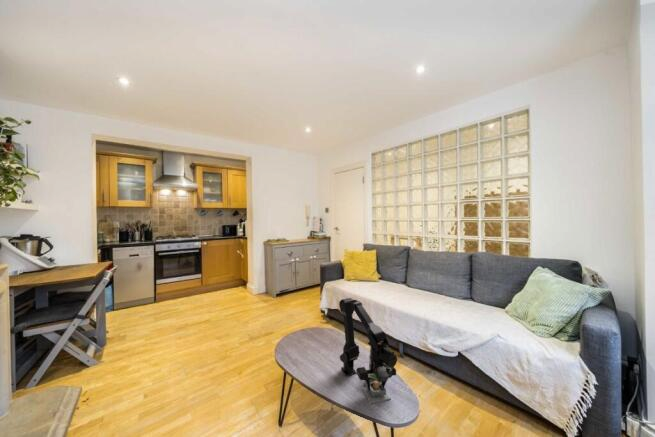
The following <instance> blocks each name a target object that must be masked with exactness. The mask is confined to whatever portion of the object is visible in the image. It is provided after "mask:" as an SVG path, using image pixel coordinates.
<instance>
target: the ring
mask: <svg viewBox="0 0 655 437" xmlns="http://www.w3.org/2000/svg"><path fill="white" fill-rule="evenodd" d="M377 381H378V380H377ZM378 382H379V381H378ZM365 385H366V384H365ZM365 387H366V388H367V385H366V386H365ZM367 389H368V388H367ZM368 391H369V390H368ZM369 393H370V394H371V396H372V397H377V396H383V395H386V393H387V389H386V388H385V386H383V385H382V382H379V389H377V390H373V381H370V391H369Z"/></svg>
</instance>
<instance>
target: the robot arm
mask: <svg viewBox="0 0 655 437" xmlns="http://www.w3.org/2000/svg"><path fill="white" fill-rule="evenodd" d="M338 307H339V311H340V312H341V314H342V316H343V325H344V339H345V343H344V345H343V348H342V350H343V351H342V354H340V355H339V360H340V361H341V362H342V363H343V364H342V365H343V366H342V367H341V370H342V373H343V374H344V376H349V375H357V377H358V379H359V380H360V381H364V382H365V385H367V388H368V390H369V391H370V382H371V377H369V375H372V374H375V375H376V377H377V380H376V381H379V382H381V383H382V385H383V386H384V387H385V386H386V383H387V381H388V380H389V379H391V378H393V377H394V376H396V375H397V369H396V368H395V366H396V365H397V363H398V357H397V355H396V354H395V351H394V350H392V349H389V348H390V343H389V340H388V339H387V336H386V333H385V332H384V330H383V329H382V328H381V326H379V325H377V324H376V323H375V322H374V321H373V319H372V318H371V316H370V315H369V314H368V312H367V311H366V308H364V306H363V303H362V302H361V301H360V300H357V299H353V297H352V298H351V297H347V298H342V299H340V300H339V304H338ZM354 313H355V314H356V316H357V318H358V319H359V321H360V322H361V324H362V325H363V327H364V328H365V331H366V337H367V338H368V340H369V341H368V342H367V345H369V346H370V347H371V356H370V355H369V358H370V364H368V368H369V367H370V370H369V369H366V368H365V366H361V367H357V368H356V370H355V367H354V366H355V361H357V360H358V358H359V356H360V354H361V353H360V346H359V345H357V343H356V342H355V332H354V320H353V318H354V317H353V315H354ZM384 363H385V364H384ZM392 376H393V377H392Z"/></svg>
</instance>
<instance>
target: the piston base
mask: <svg viewBox="0 0 655 437" xmlns="http://www.w3.org/2000/svg"><path fill="white" fill-rule="evenodd" d="M372 382H373V390H377V389H379V382H378V380H372ZM362 391H363V393H364V394H365V396H366V398H367V399H368V401H369V403H370V404H374V403H381V402H385V401H390V400H391V396H389V394H388V393H387V392H386V395H383V396H377V397H372V396H371V394H370V393H369V391H368V389H367V388H366V386H364V387H362Z"/></svg>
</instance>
